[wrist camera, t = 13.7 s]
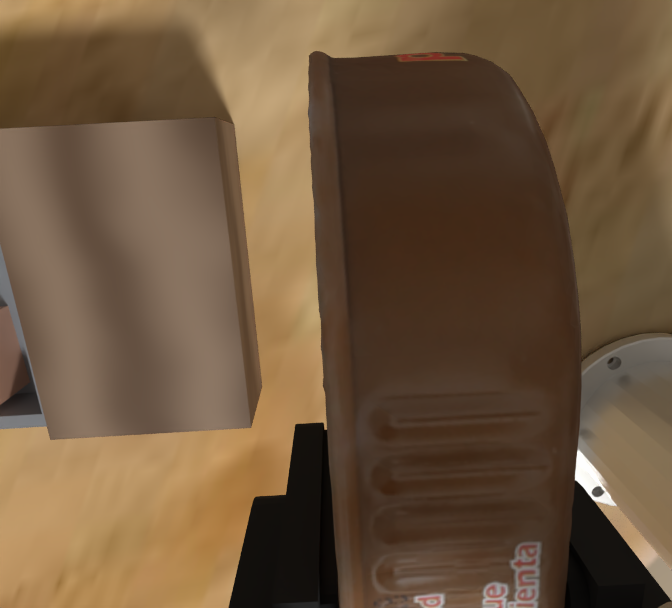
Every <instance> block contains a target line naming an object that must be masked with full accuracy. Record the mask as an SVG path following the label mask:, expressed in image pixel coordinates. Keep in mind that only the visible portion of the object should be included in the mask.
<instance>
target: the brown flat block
mask: <svg viewBox="0 0 672 608" xmlns="http://www.w3.org/2000/svg"><path fill="white" fill-rule="evenodd" d="M0 245H1V249H2V253H3V257H4V261H5V265H6V269H7V273H8V277H9V280H10V284H11V288H12V292H13V296H14V300H15V304H16V308H17V312H18V316H19V319H20V323H21V327H22V331H23V335H24V339H25V343H26V347H27V351H28V355H29V358H30V362H31V366H32V370H33V374H34V378H35V382H36V386H37V390H38V394H39V397H40V401H41V405H42V409H43V413H44V417H45V421H46V425H47V429H48V433H49V436H50V440H55V439H72V438H89V437H105V436H122V435H139V434H156V433H172V432H189V431H206V430H223V429H239V428H251V426H252V423H253V419H254V415H255V411H256V407H257V404H258V400H259V396H260V392H261V389H262V381H261V372H260V363H259V353H258V344H257V334H256V325H255V316H254V306H253V297H252V288H251V278H250V269H249V259H248V250H247V241H246V231H245V222H244V212H243V203H242V194H241V184H240V175H239V165H238V156H237V147H236V137H235V128H234V124H231V123H229V122H226V121H223V120H221V119H218V118H215V117H211V118H192V119H173V120H154V121H136V122H117V123H98V124H80V125H61V126H42V127H23V128H5V129H0Z"/></svg>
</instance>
